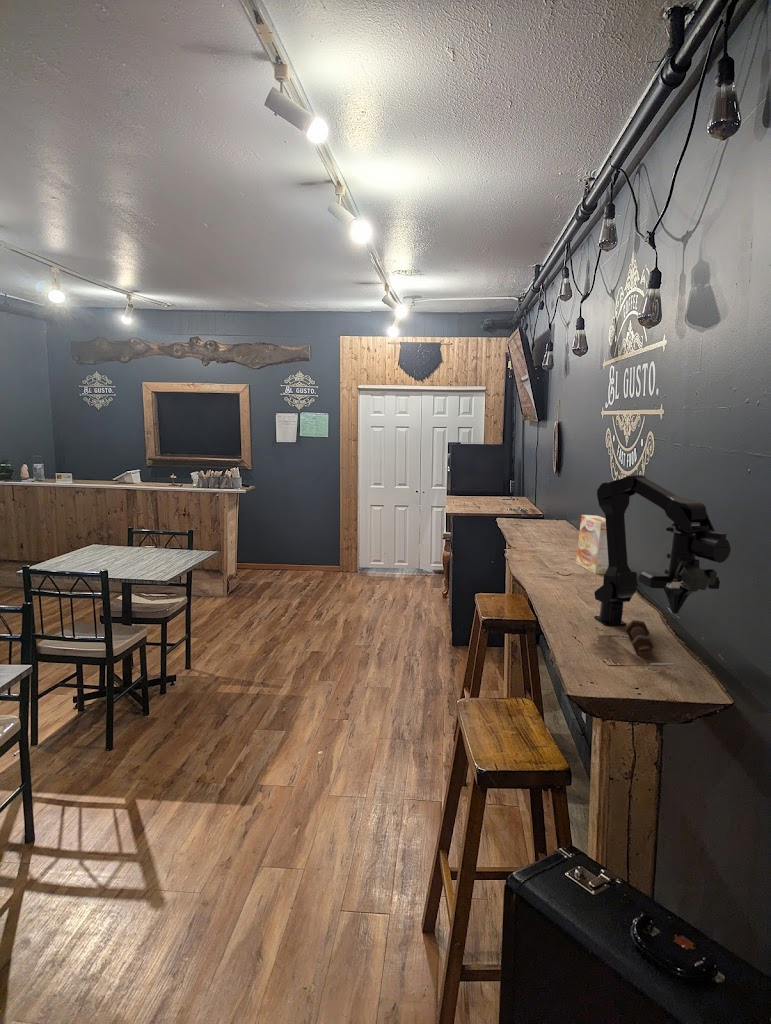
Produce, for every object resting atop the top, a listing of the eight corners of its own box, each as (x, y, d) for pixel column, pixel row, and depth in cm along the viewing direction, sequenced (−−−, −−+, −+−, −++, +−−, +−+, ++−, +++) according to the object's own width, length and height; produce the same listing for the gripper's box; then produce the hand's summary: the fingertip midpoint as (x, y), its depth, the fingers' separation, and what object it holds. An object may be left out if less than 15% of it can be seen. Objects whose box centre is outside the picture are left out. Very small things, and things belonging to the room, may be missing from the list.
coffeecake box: (575, 563, 243) (580, 514, 240) (592, 563, 245) (597, 515, 241) (594, 574, 229) (600, 522, 225) (612, 574, 230) (618, 522, 227)
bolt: (639, 666, 150) (631, 642, 164) (660, 659, 148) (651, 636, 162) (629, 644, 149) (622, 623, 164) (650, 637, 148) (641, 616, 162)
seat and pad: (571, 635, 163) (571, 635, 163) (631, 635, 166) (631, 635, 166) (608, 665, 145) (608, 665, 145) (674, 664, 148) (674, 664, 148)
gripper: (668, 560, 144) (659, 624, 147) (740, 561, 147) (730, 624, 150) (641, 548, 155) (633, 609, 158) (709, 550, 158) (700, 609, 161)
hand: (674, 613), depth 156 cm, fingers closed
